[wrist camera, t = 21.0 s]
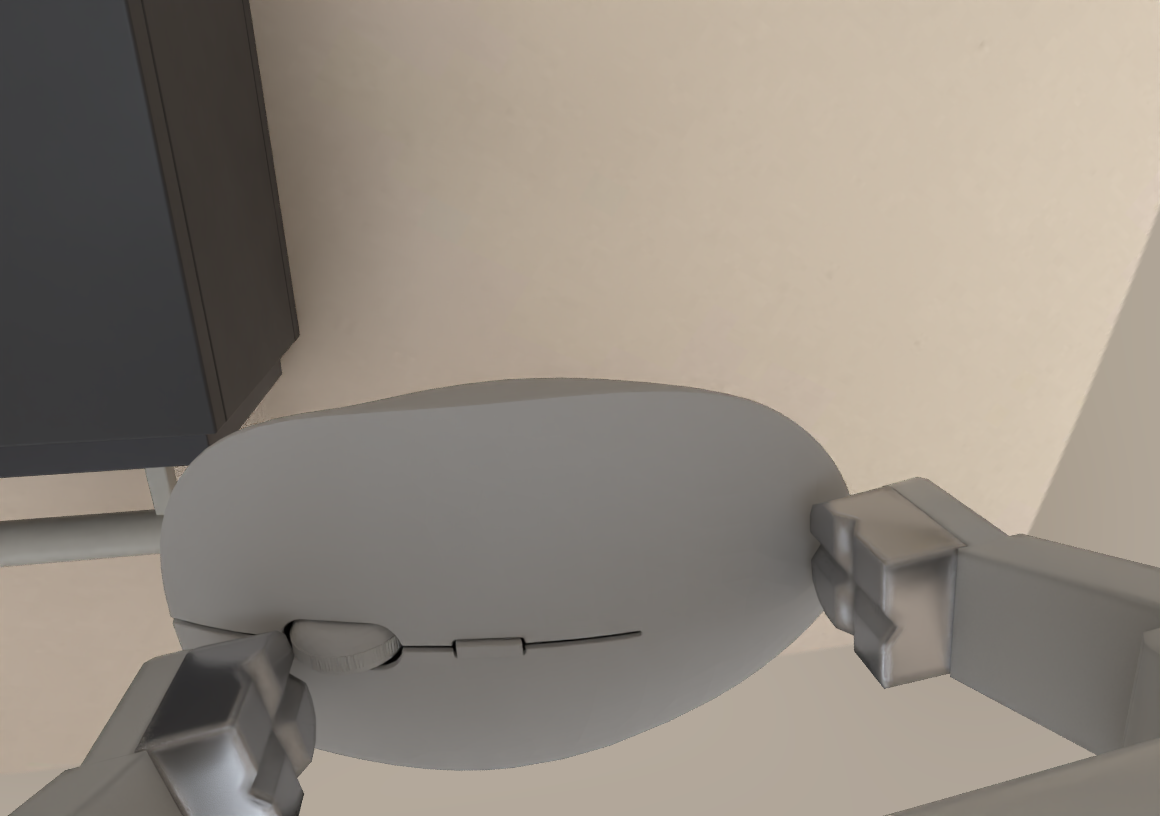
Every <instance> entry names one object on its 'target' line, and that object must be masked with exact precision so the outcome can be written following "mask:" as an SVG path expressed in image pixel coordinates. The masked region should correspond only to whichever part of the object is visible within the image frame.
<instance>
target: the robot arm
mask: <svg viewBox="0 0 1160 816" xmlns="http://www.w3.org/2000/svg"><path fill="white" fill-rule="evenodd" d="M810 533H811V534H812V535H813V536H814V537H815V538H816V539H817V540H818V541H819V543H820V546H819V548H818V549H817V551H816V552H815V554H814V556H813V557H812V559H811V567H812V580H813V584H814V587H815V591H816V594H817V597H818V600H819V602H820V604H821V606H822V608H823V610H824V612H825V614H826V615H827V617H828V618H829V619H830V621H831V622H832V623H833V625H834V626H835V627H836V628H838V629H840V630H842V631H845V632H847V633H849V634H852V635H854V651H855V653H856V654H857V655H858V656H859V658H860V659H861V660H862V662H863V663H864V664H865V665H866V667H867V668H868V669H869V670H870V671H871V673H872V674H873V675H874V677H875V678H876V679H877V680H878V682H879V683H880V684H881V685H882V687H883V688H884V689H885V688H890V687H894V686H898V685H902V684H907V683H911V682H915V681H920V680H924V679H928V678H932V677H937V676H941V675H944V674H949V673H950V677H952V678H954V679H955V680H957V681H959V682H961V683H963V684H965V685H967V686H968V687H970V688H972V689H974V690H976V691H978V692H980V693H982V694H983V695H985V696H987V697H989V698H991V699H993V700H995V701H997V702H998V703H1000V704H1002V705H1004V706H1006V707H1008V708H1010V709H1012V710H1013V711H1016V712H1017V713H1019V714H1021V715H1023V716H1025V717H1027V718H1028V719H1030V720H1032V721H1034V722H1036V723H1038V724H1040V725H1042V726H1043V727H1045V728H1047V729H1049V730H1051V731H1053V732H1055V733H1057V734H1058V735H1060V736H1062V737H1064V738H1066V739H1068V740H1070V741H1072V742H1073V743H1075V744H1077V745H1079V746H1081V747H1083V748H1085V749H1087V750H1088V751H1090V752H1092V753H1094V754H1096V755H1097V756H1093V757H1089V758H1086V759H1083V760H1079V761H1076V762H1072V763H1068V764H1065V765H1062V766H1058V767H1054V768H1051V769H1047V770H1044V771H1041V772H1037V773H1033V774H1030V775H1026V776H1023V777H1019V778H1016V779H1012V780H1009V781H1005V782H1002V783H998V784H995V785H991V786H988V787H984V788H981V789H977V790H974V791H970V792H966V793H963V794H959V795H956V796H953V797H949V798H945V799H942V800H939V801H935V802H931V803H928V804H925V805H921V806H917V807H914V808H910V809H907V810H903V811H900V812H896V813H892V814H889V815H885V816H1160V568H1158V567H1154V566H1150V565H1146V564H1142V563H1138V562H1134V561H1130V560H1126V559H1122V558H1118V557H1114V556H1109V555H1106V554H1101V553H1098V552H1093V551H1089V550H1085V549H1081V548H1077V547H1073V546H1069V545H1065V544H1061V543H1057V542H1053V541H1049V540H1045V539H1041V538H1037V537H1033V536H1029V535H1025V534H1017V535H1013V536H1008V535H1007V534H1006V533H1004V532H1003V531H1001V530H1000V529H998V528H997V527H996V526H994V525H993V524H991V523H990V522H988V521H987V520H986V519H984V518H983V517H981V516H980V515H978V514H977V513H976V512H974V511H973V510H971V509H970V508H968V507H967V506H966V505H964V504H963V503H961V502H960V501H958V500H957V499H956V498H954V497H953V496H951V495H950V494H948V493H947V492H946V491H944V490H943V489H941V488H940V487H938V486H937V485H936V484H934V483H933V482H931V481H930V480H928V479H925V478H920V477H915V478H911V479H908V480H904V481H900V482H897V483H893V484H889V485H885V486H883V487H881V488H877V489H873V490H869V491H865V492H861V493H857V494H853V495H849V496H845V497H841V498H837V499H833V500H830V501H826V502H822V503H818V504H814V505H812V508H811V512H810ZM294 657H295V655H294V653H293V650H292V648H291V646H290V644H289V642H288V639H287V637H286V635H285V634H283V633H281V632H279V631H278V630H275V631H270V632H266V633H261V634H256V635H252V636H247V637H242V638H238V639H233V640H228V641H224V642H219V643H214V644H210V645H205V646H200V647H197V648H195V649H186V650H182V651H178V652H174V653H170V654H166V655H161V656H157V657H154V658H152V659H151V660H149V661H147V662H145V663H144V664H143V665H142V667H141V669H140V670H139V672H138V673H137V675H136V677H135V678H134V680H133V682H132V683H131V685H130V686H129V688H128V690H127V691H126V693H125V694H124V696H123V698H122V699H121V701H120V703H119V704H118V706H117V707H116V709H115V711H114V712H113V714H112V716H111V717H110V719H109V720H108V722H107V724H106V725H105V727H104V729H103V730H102V732H101V733H100V735H99V737H98V738H97V740H96V742H95V743H94V745H93V746H92V748H91V750H90V751H89V753H88V755H87V756H86V758H85V759H84V761H83V763H82V764H81V766H80V767H76V768H72V769H68V770H65V771H64V772H62V773H61V774H60V775H59V776H57V777H56V778H55V779H54V780H52V781H51V782H50V783H49V784H47V785H46V786H45V787H44V788H42V789H41V790H40V791H38V792H37V793H36V794H35V795H34V796H32V797H31V798H30V799H28V800H27V801H26V802H25V803H23V804H22V805H21V806H20V807H18V808H17V809H16V810H15V811H13V812H12V813H11V814H10V815H8V816H299V812H300V807H301V803H302V800H303V796H304V793H303V790H302V788H301V786H300V784H299V781H298V779H297V777H298V776H299V775H300V774H301V773H302V772H303V771H304V770H305V768H306V767H307V766H308V765H309V764H310V763H311V762H312V757H313V753H314V748H315V743H316V714H315V710H314V705H313V700H312V697H311V694H310V692H309V689H308V686H307V684H306V683H305V682H304V681H302V680H300V679H299V678H297V677H295V676H294V675H292V674H290V669H291V666H292V663H293V660H294Z"/></svg>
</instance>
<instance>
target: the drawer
mask: <svg viewBox="0 0 1160 816" xmlns="http://www.w3.org/2000/svg"><path fill="white" fill-rule="evenodd" d="M281 375H282V369H281V363H280V359H279V361H278V362H277V363H276V364H275V365H274V367H273V368H272V369H271V370H270V371H269V372H268V374H267V375H266V376H265V377H264V378H263V380H262V381H261V382H260V383H259V384H258V386H257V387H256V388H255V389H254V390H253V391H252V393H251V394H250V395H249V396H248V397H247V399H246V400H245V401H244V402H243V403H242V405H241V406H240V407H239V408H238V409H237V411H236V412H235V413H234V414H233V415H232V416H231V418H230V419H229V420H228V421H227V422H225V424H224V425H223V427H222V428H221V429H220V430H219V431H218V433H216V434H207V435H191V436H174V437H157V438H141V439H124V440H108V441H91V442H75V443H58V444H41V445H25V446H8V447H0V478H7V477H22V476H38V475H53V474H68V473H83V472H98V471H113V470H128V469H143V468H144V469H145V473H146V477H147V481H148V484H149V488H150V492H151V496H152V500H153V504H154V508H155V510H142V511H129V512H115V513H102V514H89V515H76V516H62V517H49V518H36V519H22V520H9V521H0V567H9V566H20V565H32V564H44V563H56V562H68V561H80V560H92V559H103V558H115V557H127V556H139V555H151V554H160V540H161V528H162V522H163V518H164V513H165V509H166V506H167V503H168V501H169V498H170V495H171V492H172V490H173V489H174V487H175V485H176V483H177V481H176V476H175V472H174V468H173V466H188V465H190V464H191V462H192V461H193V460H194V459H195V458H196V457H197V456H198V455H200V454H201V453H202V452H203V451H204V450H205V449H206V448H208V447H209V446H211V445H212V444H214V443H215V442H217V441H218V440H220V439H222V438H224V437H226V436H228V435H229V434H231V433H233V432H236V431H238V430H239V429H240V428H241V426H242V425H243V424H244V422H245V421H246V420H247V419H248V417H249V416H250V415H251V413H252V412H253V411H254V410H255V408H256V407H257V406H258V404H259V403H260V402H261V401H262V399H263V398H264V397H265V395H266V394H267V393H268V391H269V390H270V389H271V388H272V386H273V385H274V384H275V382H276V381H277V380H278V379H279V377H280V376H281Z"/></svg>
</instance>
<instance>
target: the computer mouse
mask: <svg viewBox="0 0 1160 816" xmlns="http://www.w3.org/2000/svg"><path fill="white" fill-rule="evenodd" d="M849 495H850V494H849V491H848V489H847V486H846V484H845V482H844V480H843V477H842V475H841V473H840V471H839V470H838V468H837V466H836V465H835V463H834V462H833V460H832V459H831V457H830V456H829V455H828V453H827V452H826V451H825V450H824V448H823V447H822V446H821V445H820V444H819V443H818V442H817V441H816V440H815V439H814V438H813V437H812V436H811V435H810V434H809V433H808V432H807V431H805V430H804V429H803V428H802V427H800V426H799V425H798V424H796V423H795V422H794V421H792V420H791V419H789V418H787V417H786V416H784V415H783V414H781V413H779V412H777V411H775V410H773V409H771V408H769V407H767V406H765V405H763V404H760V403H757V402H754V401H752V400H749V399H745V398H741V397H738V396H734V395H730V394H725V393H720V392H715V391H710V390H705V389H699V388H692V387H685V386H676V385H667V384H657V383H648V382H633V381H621V380H609V379H587V378H531V379H507V380H498V381H488V382H479V383H469V384H462V385H456V386H449V387H443V388H436V389H430V390H425V391H420V392H415V393H411V394H406V395H401V396H396V397H391V398H386V399H381V400H377V401H372V402H367V403H362V404H357V405H352V406H347V407H341V408H335V409H328V410H321V411H314V412H307V413H301V414H296V415H291V416H286V417H281V418H276V419H272V420H269V421H265V422H262V423H259V424H255V425H252V426H249V427H246V428H244V429H241V430H238V431H236V432H233V433H231V434H229V435H228V436H226V437H224V438H222V439H220V440H218V441H217V442H215V443H214V444H212V445H211V446H209V447H208V448H206V449H205V450H204V451H203V452H202V453H201V454H200V455H198V456H197V457H196V458H195V459H194V460H193V461H192V462H191V464H190V465H189V466H188V467H187V469H186V470H185V471H184V473H183V474H182V475H181V477H180V478H179V480H178V481H177V483H176V485H175V487H174V489H173V490H172V492H171V495H170V498H169V501H168V503H167V506H166V509H165V513H164V518H163V522H162V528H161V540H160V556H161V572H162V579H163V585H164V591H165V595H166V599H167V603H168V607H169V612H170V616H171V617H173V618H174V620H173V626H174V628H175V631H176V634H177V636H178V639H179V642H180V644H181V647H182V650H186V649H195V648H197V647H200V646H205V645H210V644H214V643H219V642H224V641H228V640H233V639H238V638H242V637H247V636H252V635H256V634H261V633H266V632H270V631H275V630H278V631H279V632H281V633H283V634H285V635H286V637H287V639H288V642H289V644H290V646H291V648H292V650H293V653H294V655H295V657H294V660H293V663H292V666H291V669H290V674H292V675H294V676H295V677H297V678H299V679H300V680H302V681H304V682H305V683H306V684H307V686H308V689H309V692H310V694H311V697H312V700H313V705H314V710H315V714H316V743H315V748H316V749H320V750H324V751H327V752H332V753H336V754H339V755H344V756H349V757H353V758H358V759H362V760H368V761H374V762H380V763H385V764H391V765H397V766H406V767H414V768H423V769H437V770H459V771H460V770H492V769H506V768H515V767H521V766H526V765H532V764H538V763H544V762H550V761H555V760H561V759H565V758H569V757H572V756H576V755H579V754H583V753H586V752H589V751H593V750H597V749H600V748H604V747H607V746H610V745H613V744H615V743H618V742H620V741H623V740H625V739H627V738H630V737H632V736H635V735H637V734H640V733H642V732H645V731H647V730H650V729H652V728H654V727H657V726H659V725H661V724H664V723H666V722H669V721H671V720H673V719H675V718H677V717H679V716H681V715H683V714H685V713H687V712H689V711H691V710H693V709H695V708H697V707H698V706H701V705H703V704H705V703H707V702H709V701H711V700H713V699H714V698H716V697H718V696H719V695H721V694H723V693H724V692H726V691H728V690H729V689H731V688H732V687H734V686H736V685H738V684H739V683H741V682H742V681H744V680H745V679H747V678H748V677H749V676H751V675H752V674H754V673H755V672H756V671H758V670H759V669H761V668H762V667H763V666H765V665H766V664H767V663H768V662H770V661H771V660H772V659H774V658H775V657H776V656H777V655H779V654H780V653H781V652H782V651H783V650H784V649H786V648H787V647H788V646H789V645H790V644H791V643H793V642H794V641H795V640H796V639H797V638H798V637H799V636H800V635H801V634H802V633H803V632H804V631H805V630H806V629H807V628H808V627H809V626H810V625H811V624H812V623H813V622H814V621H815V620H816V619H817V617H818V616H819V615H820V614H821V613H822V612H823V611H824V610H823V608H822V606H821V604H820V602H819V600H818V597H817V594H816V591H815V587H814V584H813V580H812V567H811V559H812V557H813V556H814V554H815V552H816V551H817V549H818V548H819V546H820V543H819V541H818V540H817V539H816V538H815V537H814V536H813V535H812V534H811V533H810V512H811V508H812V505H814V504H818V503H822V502H826V501H830V500H833V499H837V498H841V497H845V496H849Z"/></svg>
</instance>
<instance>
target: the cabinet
mask: <svg viewBox="0 0 1160 816" xmlns="http://www.w3.org/2000/svg"><path fill="white" fill-rule="evenodd" d="M299 335H300V334H299V327H298V321H297V314H296V308H295V301H294V295H293V288H292V281H291V275H290V268H289V262H288V255H287V249H286V242H285V235H284V229H283V222H282V216H281V209H280V203H279V196H278V190H277V183H276V176H275V170H274V163H273V157H272V150H271V144H270V137H269V130H268V124H267V117H266V111H265V104H264V98H263V91H262V85H261V78H260V71H259V65H258V58H257V52H256V45H255V39H254V32H253V25H252V19H251V12H250V6H249V0H0V447H8V446H25V445H41V444H58V443H75V442H91V441H108V440H124V439H141V438H157V437H174V436H191V435H207V434H216V433H218V431H219V430H220V429H221V428H222V427H223V425H224V424H225V422H227V421H228V420H229V419H230V418H231V416H232V415H233V414H234V413H235V412H236V411H237V409H238V408H239V407H240V406H241V405H242V403H243V402H244V401H245V400H246V399H247V397H248V396H249V395H250V394H251V393H252V391H253V390H254V389H255V388H256V387H257V386H258V384H259V383H260V382H261V381H262V380H263V378H264V377H265V376H266V375H267V374H268V372H269V371H270V370H271V369H272V368H273V367H274V365H275V364H276V363H277V362H278V361H279V359H280V358H281V357H282V356H283V355H284V353H285V352H286V351H287V350H288V349H289V347H290V346H291V345H292V344H293V343H294V341H296V339H297V338H298V337H299Z"/></svg>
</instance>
